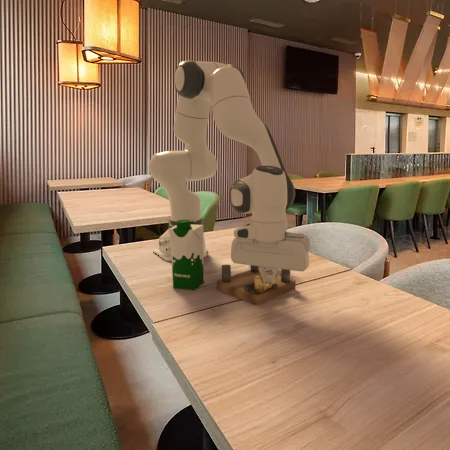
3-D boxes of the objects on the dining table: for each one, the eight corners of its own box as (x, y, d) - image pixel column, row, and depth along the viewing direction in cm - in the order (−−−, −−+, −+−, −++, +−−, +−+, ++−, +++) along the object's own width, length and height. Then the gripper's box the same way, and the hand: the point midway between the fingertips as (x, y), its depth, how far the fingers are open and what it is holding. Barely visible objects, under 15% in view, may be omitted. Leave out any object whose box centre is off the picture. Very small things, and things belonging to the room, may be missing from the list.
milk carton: (168, 289, 112) (165, 221, 108) (182, 278, 121) (179, 216, 116) (196, 292, 109) (194, 223, 105) (208, 281, 118) (206, 217, 114)
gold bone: (270, 282, 108) (270, 268, 107) (278, 284, 106) (278, 270, 106) (251, 291, 102) (251, 276, 101) (260, 294, 100) (260, 279, 99)
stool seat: (216, 288, 112) (216, 265, 110) (254, 275, 122) (254, 254, 121) (256, 305, 100) (257, 279, 99) (295, 289, 111) (295, 266, 109)
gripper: (313, 231, 96) (311, 284, 99) (237, 225, 104) (238, 274, 107) (307, 237, 90) (305, 292, 93) (227, 230, 99) (228, 281, 102)
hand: (268, 282), depth 100 cm, fingers closed
